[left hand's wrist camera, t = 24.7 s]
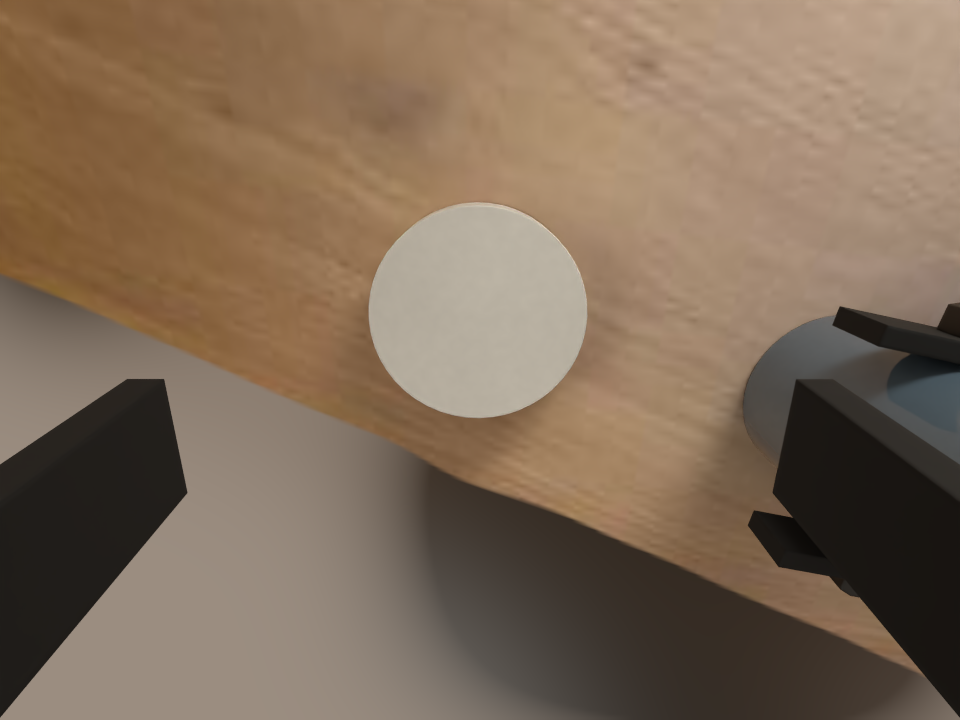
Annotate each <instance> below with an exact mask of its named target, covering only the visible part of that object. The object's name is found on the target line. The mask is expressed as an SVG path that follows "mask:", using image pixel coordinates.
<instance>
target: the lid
mask: <svg viewBox="0 0 960 720" xmlns="http://www.w3.org/2000/svg"><path fill="white" fill-rule="evenodd" d="M586 323H587V300H586V293H585V288H584V284H583V281H582V278H581V275H580V273H579V270H578V268H577V266H576V264H575V262H574V260H573V259H572V257H571V255H570V254H569V252H568V251H567V249H566V248H565V247H564V246H563V245H562V243H561V242H560V241H559V240H558V239H557V238H556V237H555V236H554V235H553V234H552V233H551V232H550V231H549V230H548V229H547V228H545V227H544V226H543V225H542V224H541V223H539V222H538V221H536V220H535V219H533V218H532V217H530V216H529V215H527V214H525V213H523V212H520V211H518V210H516V209H513V208H510V207H507V206H504V205H499V204H493V203H482V202H473V203H462V204H457V205H453V206H448V207H446V208H443V209H440V210H437V211H435V212H433V213H431V214H429V215H427V216H426V217H424V218H422V219H421V220H419V221H418V222H417V223H415V224H414V225H412V226H411V227H410V228H409V229H408V230H407V231H406V232H405V233H404V234H403V235H402V236H401V237H400V238H399V239H398V240H397V241H396V242H395V243H394V244H393V245H392V247H391V248H390V249H389V251H388V252H387V253H386V255H385V257H384V258H383V260H382V262H381V263H380V265H379V267H378V270H377V272H376V275H375V277H374V280H373V284H372V288H371V291H370V299H369V325H370V332H371V336H372V340H373V343H374V347H375V349H376V351H377V353H378V356H379V358H380V360H381V362H382V363H383V365H384V367H385V368H386V370H387V372H388V373H389V374H390V375H391V377H392V378H393V379H394V380H395V382H396V383H397V384H398V385H399V386H400V387H401V388H402V389H403V390H404V391H406V392H407V393H408V394H410V395H411V396H412V397H413V398H415V399H416V400H418V401H420V402H421V403H423V404H425V405H426V406H428V407H431V408H433V409H435V410H438V411H440V412H443V413H447V414H450V415H454V416H460V417H466V418H488V417H496V416H501V415H506V414H509V413H512V412H515V411H518V410H521V409H523V408H525V407H527V406H529V405H531V404H533V403H535V402H536V401H538V400H539V399H541V398H543V397H544V396H545V395H546V394H548V393H549V392H550V391H551V390H553V389H554V388H555V387H556V386H557V384H558V383H559V382H560V381H561V380H562V379H563V378H564V377H565V375H566V374H567V372H568V371H569V370H570V368H571V367H572V365H573V363H574V361H575V360H576V358H577V356H578V353H579V351H580V348H581V346H582V343H583V339H584V335H585V331H586Z"/></svg>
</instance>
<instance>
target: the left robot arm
mask: <svg viewBox="0 0 960 720" xmlns="http://www.w3.org/2000/svg"><path fill="white" fill-rule="evenodd" d="M186 494H187V488H186V484H185V479H184V474H183V469H182V464H181V459H180V455H179V449H178V445H177V440H176V435H175V430H174V425H173V420H172V416H171V411H170V406H169V401H168V396H167V391H166V387H165V381H164V379H127V380H125V381H124V382H122V383H121V384H119V385H118V386H116V387H115V388H113V389H112V390H110V391H109V392H107V393H106V394H104V395H103V396H101V397H100V398H98V399H97V400H95V401H94V402H92V403H91V404H90V405H88V406H87V407H85V408H84V409H82V410H81V411H79V412H78V413H76V414H75V415H73V416H72V417H70V418H69V419H67V420H66V421H64V422H63V423H61V424H60V425H58V426H57V427H55V428H54V429H52V430H51V431H49V432H48V433H46V434H45V435H43V436H42V437H40V438H39V439H37V440H36V441H34V442H33V443H32V444H30V445H28V446H27V447H26V448H24V449H23V450H21V451H20V452H18V453H17V454H15V455H14V456H12V457H11V458H9V459H8V460H6V461H5V462H3V463H2V464H0V717H1V716H2V715H3V713H4V712H5V711H6V710H7V709H8V707H9V706H10V705H11V704H12V703H13V701H14V700H15V699H16V698H17V697H18V695H19V694H20V693H21V692H22V691H23V689H24V688H25V687H26V686H27V685H28V683H29V682H30V681H31V680H32V679H33V677H34V676H35V675H36V674H37V673H38V671H39V670H40V669H41V668H42V667H43V665H44V664H45V663H46V662H47V661H48V659H49V658H50V657H51V656H52V655H53V653H54V652H55V651H56V650H57V649H58V647H59V646H60V645H61V644H62V643H63V641H64V640H65V639H66V638H67V637H68V635H69V634H70V633H71V632H72V631H73V629H74V628H75V627H76V626H77V625H78V623H79V622H80V621H81V620H82V619H83V617H84V616H85V615H86V614H87V613H88V612H89V610H90V609H91V608H92V607H93V606H94V604H95V603H96V602H97V601H98V599H99V598H100V597H101V596H102V595H103V594H104V592H105V591H106V590H107V589H108V588H109V586H110V585H111V584H112V583H113V582H114V580H115V579H116V578H117V577H118V576H119V574H120V573H121V572H122V571H123V569H124V568H125V567H126V566H127V565H128V564H129V562H130V561H131V560H132V559H133V557H134V556H135V555H136V554H137V553H138V551H139V550H140V549H141V548H142V547H143V546H144V544H145V543H146V542H147V541H148V540H149V538H150V537H151V536H152V535H153V534H154V532H155V531H156V530H157V529H158V528H159V526H160V525H161V524H162V523H163V522H164V520H165V519H166V518H167V517H168V516H169V514H170V513H171V512H172V511H173V510H174V508H175V507H176V506H177V505H178V504H179V502H180V501H181V500H182V499H183V498H184V496H185V495H186ZM773 494H774V495H775V496H776V498H777V499H778V500H779V501H780V502H781V504H782V505H783V506H784V507H785V508H786V510H787V511H788V512H789V513H790V514H791V516H792V517H793V518H794V519H795V520H796V522H797V523H798V524H799V525H800V526H801V528H802V529H803V530H804V531H805V532H806V534H807V535H808V536H809V537H810V538H811V540H812V541H813V542H814V543H815V544H816V546H817V547H818V548H819V549H820V550H821V552H822V553H823V554H824V555H825V556H826V558H827V559H828V560H829V561H830V562H831V564H832V565H833V566H834V567H835V568H836V570H837V571H838V572H839V573H840V574H841V576H842V577H843V578H844V579H845V580H846V582H847V583H848V584H849V585H850V586H851V588H852V589H853V590H854V591H855V592H856V594H857V595H858V596H859V597H860V598H861V600H862V601H863V602H864V603H865V604H866V606H867V607H868V608H869V609H870V610H871V612H872V613H873V614H874V615H875V616H876V618H877V619H878V620H879V621H880V622H881V624H882V625H883V626H884V627H885V628H886V630H887V631H888V632H889V633H890V634H891V636H892V637H893V638H894V639H895V640H896V641H897V643H898V644H899V645H900V646H901V647H902V649H903V650H904V651H905V652H906V653H907V655H908V656H909V657H910V658H911V659H912V661H913V662H914V663H915V664H916V665H917V667H918V668H919V669H920V670H921V671H922V673H923V674H924V675H925V676H926V677H927V679H928V680H929V681H930V682H931V683H932V685H933V686H934V687H935V688H936V689H937V691H938V692H939V693H940V694H941V695H942V697H943V698H944V699H945V700H946V701H947V703H948V704H949V705H950V706H951V707H952V709H953V710H954V711H955V712H956V713H957V715H958V716H959V717H960V464H958V463H957V462H955V461H954V460H952V459H951V458H949V457H948V456H946V455H945V454H943V453H942V452H940V451H939V450H937V449H936V448H934V447H933V446H932V445H930V444H929V443H927V442H926V441H924V440H923V439H921V438H920V437H918V436H917V435H915V434H914V433H912V432H911V431H909V430H908V429H906V428H905V427H903V426H902V425H900V424H899V423H897V422H896V421H894V420H893V419H891V418H890V417H888V416H887V415H885V414H884V413H882V412H881V411H879V410H878V409H876V408H875V407H874V406H872V405H871V404H869V403H868V402H866V401H865V400H863V399H862V398H860V397H859V396H857V395H856V394H854V393H853V392H851V391H850V390H848V389H847V388H845V387H844V386H842V385H841V384H839V383H838V382H836V381H835V380H833V379H796V381H795V386H794V391H793V396H792V401H791V406H790V411H789V415H788V420H787V425H786V430H785V435H784V440H783V445H782V449H781V454H780V459H779V464H778V469H777V474H776V479H775V483H774V488H773Z"/></svg>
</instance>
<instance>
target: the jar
mask: <svg viewBox="0 0 960 720" xmlns="http://www.w3.org/2000/svg"><path fill="white" fill-rule="evenodd" d="M835 317H836V315H835V316H828V317H824V318H820V319H816V320H813V321H810V322H808V323H805V324H803V325H801V326H799V327H797V328H795V329H793V330H792V331H790V332H789V333H787V334H786V335H784V336H783V337H781V338H780V339H779V340H778V341H777V342H775V343H774V344H773V345H772V346H771V347H770V348H769V349H768V350H767V351H766V353H765V354H764V355H763V356H762V358H761V359H760V360H759V362H758V363H757V365H756V366H755V368H754V370H753V372H752V373H751V376H750V378H749V381H748V383H747V386H746V390H745V394H744V402H743V415H744V422H745V426H746V429H747V432H748V434H749V436H750V438H751V440H752V442H753V443H754V445H755V446H756V447H757V449H758V450H759V451H760V452H761V453H762V454H763V455H764V456H765V457H766V458H767V459H768V460H769V461H770V462H771V463H772V464H773V465H774V466H775V467H776V468H777V469H778V464H779V459H780V454H781V449H782V445H783V440H784V435H785V430H786V425H787V420H788V415H789V411H790V406H791V401H792V396H793V391H794V386H795V381H796V379H833V380H835V381H836V382H838V383H839V384H841V385H842V386H844V387H845V388H847V389H848V390H850V391H851V392H853V393H854V394H856V395H857V396H859V397H860V398H862V399H863V400H865V401H866V402H868V403H869V404H871V405H872V406H874V407H875V408H876V409H878V410H879V411H881V412H882V413H884V414H885V415H887V416H888V417H890V418H891V419H893V420H894V421H896V422H897V423H899V424H900V425H902V426H903V427H905V428H906V429H908V430H909V431H911V432H912V433H914V434H915V435H917V436H918V437H920V438H921V439H923V440H924V441H926V442H927V443H929V444H930V445H932V446H933V447H934V448H936V449H937V450H939V451H940V452H942V453H943V454H945V455H946V456H948V457H949V458H951V459H952V460H954V461H955V462H957V463H958V464H960V364H957V363H953V362H948V361H943V360H938V359H934V358H929V357H924V356H920V355H915V354H910V353H906V352H901V351H896V350H892V349H887V348H882V347H878V346H876V345H874V344H871V343H869V342H867V341H865V340H863V339H861V338H858V337H856V336H854V335H852V334H850V333H848V332H845V331H843V330H841V329H839V328H837V327H835V326H832V324H833V322H834V319H835Z"/></svg>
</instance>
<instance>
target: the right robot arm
mask: <svg viewBox="0 0 960 720" xmlns="http://www.w3.org/2000/svg"><path fill="white" fill-rule="evenodd" d="M832 326H835V327H837V328H839V329H841V330H843V331H845V332H848V333H850V334H852V335H854V336H856V337H858V338H861V339H863V340H865V341H867V342H869V343H871V344H874V345H876V346H878V347H882V348H887V349H892V350H896V351H901V352H906V353H910V354H915V355H920V356H924V357H929V358H934V359H938V360H943V361H948V362H953V363H957V364H960V303H954V304H948V306H947V308H946V311H945V313H944V315H943V317H942V319H941V321H940V323H939V325H938V327H932V326H928V325H923V324H919V323H914V322H909V321H905V320H900V319H896V318H891V317H886V316H882V315H877V314H873V313H868V312H863V311H859V310H854V309H850V308H845V307H839V310H838V312H837V314H836V317H835V319H834V322H833V324H832ZM748 526H749V528H750V529H751V530H752V532H753V533H754V534H755V536H756V537H757V538H758V540H759V541H760V542H761V544H762V545H763V546H764V548H765V549H766V550H767V552H768V553H769V555H770V556H771V557H772V559H773V560H774V561H775V563H776V564H777V565H778V567H782V568H788V569H793V570H799V571H804V572H810V573H815V574H821V575H826V576H830V578H831V579H832V580H833V581H834V582H835V584H836V585H837V586H838V587H839V588H840V589H841V590H842V591H844V592H845V593H847V594H848V595H850V596H855V597H859V596H858V595H857V594H856V592H855V591H854V590H853V589H852V588H851V586H850V585H849V584H848V583H847V582H846V580H845V579H844V578H843V577H842V576H841V574H840V573H839V572H838V571H837V570H836V568H835V567H834V566H833V565H832V564H831V562H830V561H829V560H828V559H827V558H826V556H825V555H824V554H823V553H822V552H821V550H820V549H819V548H818V547H817V546H816V544H815V543H814V542H813V541H812V540H811V538H810V537H809V536H808V535H807V534H806V532H805V531H804V530H803V529H802V528H801V526H800V525H799V524H798V523H797V522H796V520H795V519H794V518H791V517H786V516H781V515H775V514H770V513H765V512H759V511H754V512H753V514H752V517H751V519H750V521H749V524H748Z"/></svg>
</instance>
